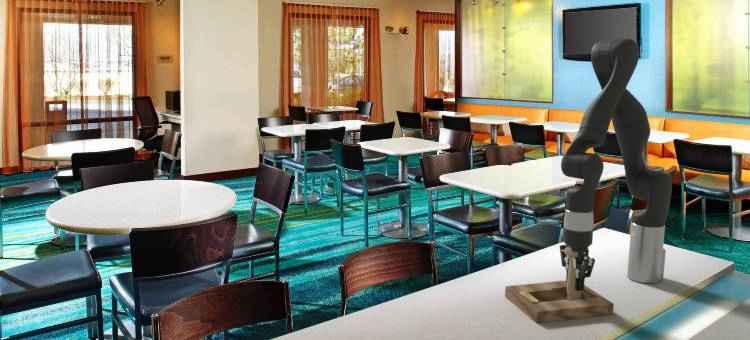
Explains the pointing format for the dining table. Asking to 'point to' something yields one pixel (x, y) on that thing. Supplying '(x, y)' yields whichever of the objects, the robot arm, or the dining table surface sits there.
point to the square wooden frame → (556, 302)
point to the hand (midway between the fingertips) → (574, 286)
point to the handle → (572, 276)
